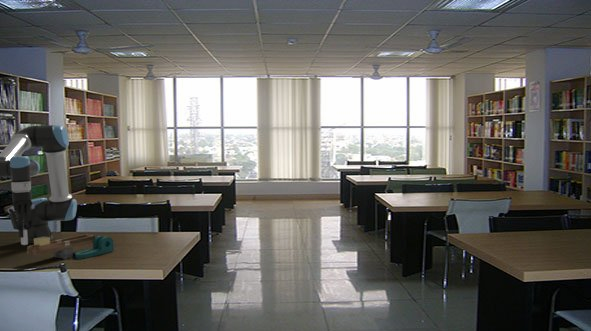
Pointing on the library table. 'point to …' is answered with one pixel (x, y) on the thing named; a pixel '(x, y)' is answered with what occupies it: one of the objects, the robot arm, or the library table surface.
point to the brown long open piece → (62, 246)
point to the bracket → (97, 248)
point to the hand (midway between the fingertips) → (24, 244)
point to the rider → (41, 241)
